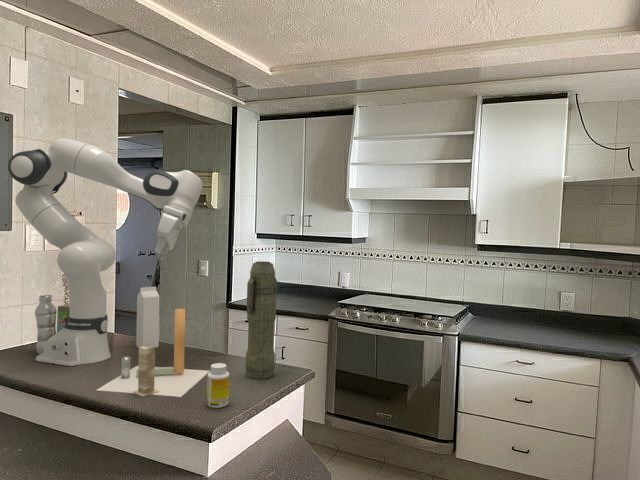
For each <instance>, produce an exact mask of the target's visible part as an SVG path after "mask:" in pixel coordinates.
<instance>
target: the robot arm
mask: <svg viewBox="0 0 640 480" xmlns="http://www.w3.org/2000/svg"><path fill="white" fill-rule="evenodd" d="M7 169H8V173H9V175H10V176H11V177H12V179H13V180H15V181H16V182H18V183H19V184H22V185H23V187H22V189H21V190H19V191H18V192H17V194H16V196H15V204H16V207H17V208H18V209H19V212H20V213H21V214H22V216H24V218H25V219H26V221H27V222H28V223H29V224H30V225H31V226H32V227H33V228H34V229H35V230H36V232H38V233H39V234H40V235H41V236H42V237H43V238H44V240H46V241H47V242H48V243H49V244H50V245H52V246H54V247H56V248H58V249H60V251H59V253H58V255H57V259H56V261H57V267H58V269H59V270H60V271H61V272H62V273H63V275H64V277H65V281H66V285H67V288H68V297H69V298H68V299H69V300H68V301H69V303H68V304H69V316H68V317H67V318H65V319H62V320H64V321H62V322H61V323H64V322H65V325H64V328H63V329H61V330H60V331H59V332H57V331H56V334H55V335H53V336H52V337H51V338H49V339H48V340H47V342H46V344H45V349H44V353H42V354H37V356H36V358H35V361H36V362H41V363H46V364H47V363H48V364H53V363H54V365H60V366H68V367H73V366H79V365H85V364H93V363H98V362H102V361H106V360H108V359H110V358H111V356H112V354H111V352H110V349H109V342H108V325H109V324H108V323H109V322H108V321H109V319H108V318H109V317H108V314H107V294H108V293H107V291H106V289H105V288H104V285H103V283H102V282H103V281H102V278H101V273H102V272H105V271H107V270H108V269H110V268H111V267H112V266H113V265H114V263H115V262H116V259H117V252H116V249H115V247H114V246H113V245H111V244H110V242H109V243H108V242H106V241H104V239H102V238H101V237H99V236H98V235H97V234H96V233H94V232H93V231H92V230H90V229H89V228H88V227H86V226H85V225H84V224H82V222H80V221H79V220H78V219H76V218H75V217H74V216H73V214H71V212H70V211H68V209H67V208H65V206H64V204H62V203H61V202H60V201H59V200H58V199H57V198H56V197H55V196H54V194H57V193H58V192H59V190H60V188H61V187H62V186H63V185H64V184H65V183H66V181H67V178H68V173H70V174H72V175H74V176H79V177H81V178H84V179H87V180H90V181H94V182H96V183H100V184H103V185H106V186H109V187H112V188H115V189H118V190H120V191H122V192H125V193H127V194H130V195H132V196H135V197H137V198H140V199H142V200H144V201H146V202H148V203H149V204H150V205H151V206H152V207H153V208H154V209H155V210H157V211H160V212H161V215H160V221H159V223H158V227H157V231H156V234H157V237H158V239H157V242H156V246H155V248H154V252H155V253H156V254H158V255H157V259H158V260H161V261H162V260H164V258H165V256H166V254H167V253H168V252H169V251H172V250H173V248H175V247H174V246H175V244H176V242H177V240H178V237H179V234H180V231H182V229H183V228H184V229H185V228H187V227H188V224H189V222H190V221H191V217H192V215H193V210H194V209H195V207H196V205H197V203H198V201H199V199H200V196H201V193H202V189H203V181H202V178H201V177H200V176H199V175H197V173H195V172H193V171H191V170H188V169H182V170H181V171H165V170H160V169H155V170H152V171H149V172H148V173H147V174H146V175H145V176H144V177H143V178H140V177H138V176H135V175H134V174H131V173H130V172H129V171H127V170H125V169H124V168H123V166H121V165H120V164H119V163H118V161H116V159H115V158H114V157H113V156H112V155H111V154H110V153H109V152H107V151H105V150H104V149H102V148H100V147H98V146H95V145H92V144H90V143H86V142H83V141H79V140H76V139H71V138H66V137H61V138H57V139H55V140H54V141H52V143H50V146H49V148H48V149H47V150H46V151H45V150H43V149H40V148H38V149H31V150H25V151H19V152H17V153H15V154H13V155H11V157H10V158H9V160H8V162H7Z"/></svg>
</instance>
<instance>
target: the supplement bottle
mask: <svg viewBox="0 0 640 480" xmlns="http://www.w3.org/2000/svg"><path fill="white" fill-rule="evenodd" d="M206 379H207V380H206V383H207V384H206V404H207V406H208V407H210V408H214V409H220V408H225V407H226V406H228V404H229V400H230V373H229V371H227V363H222V362H217V363H212V364H211V365H210V372H209V373H208V374H207V375H206Z"/></svg>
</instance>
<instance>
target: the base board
mask: <svg viewBox="0 0 640 480" xmlns="http://www.w3.org/2000/svg"><path fill="white" fill-rule="evenodd" d="M159 367H160V366H155V368H159ZM137 369H139V365H136V366H134V367H133V368H130V378H128V379H122V378H121V375H118V376H117V377H115V378H114V379H112V380H111V381H109V382H107V383H105V384H104V385H102V386H101V387H98V389H96V391H97V392H98V391H100V392H114V393H124V394H125V393H126V394H134V393H133V391H135V390H138V376H136V371H137ZM209 372H211V370H202V369H189V368H188V369H187V368H184V372H183V373H174V374H163V375H155V378H154V389H156V390H158V391H160V392H158V393H155V394H151V395H150V396H152V395H153V396H154V395H155V396H164V397H174V398H177V399H178V398H182V397H183V396H184V395H185V394H187V393H188V392H189V391H190V390H191V389H192V388H193V387H195V386H196V385H197V384H198V383H199V382H200V381H201V380H202V379H204V378H205V377H207V375H208V373H209Z"/></svg>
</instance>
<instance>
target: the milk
mask: <svg viewBox="0 0 640 480" xmlns="http://www.w3.org/2000/svg"><path fill="white" fill-rule="evenodd" d="M135 334H136V337H135V341H136V342H135V345H136V347H137V348H139V347H142V346H147V345H150V346H153V347H155V349H156V348H159V342H160V341H159V340H160V339H159V338H160V294H159V293H158V291H157V286H145V287H142V286H141V287H140V291H139V293H138V294H137V295H136V333H135Z"/></svg>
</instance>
